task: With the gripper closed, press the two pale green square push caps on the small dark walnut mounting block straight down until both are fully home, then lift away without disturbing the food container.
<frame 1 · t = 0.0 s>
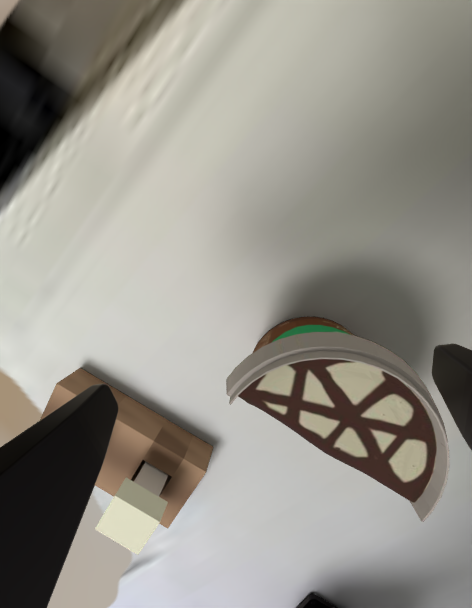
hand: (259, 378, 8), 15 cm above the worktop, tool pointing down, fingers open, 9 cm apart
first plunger: (141, 497, 23), point 5 cm above the worktop, slide at 0.0 cm
food container: (326, 343, 24), on the worktop
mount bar: (130, 435, 28), on the worktop
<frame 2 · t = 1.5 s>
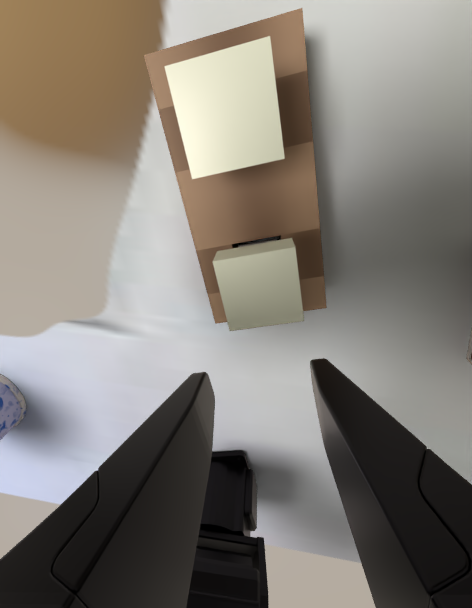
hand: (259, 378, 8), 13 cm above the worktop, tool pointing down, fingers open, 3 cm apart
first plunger: (260, 274, 16), point 5 cm above the worktop, slide at 0.0 cm
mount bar: (250, 194, 18), on the worktop
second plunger: (232, 121, 13), point 5 cm above the worktop, slide at 0.0 cm
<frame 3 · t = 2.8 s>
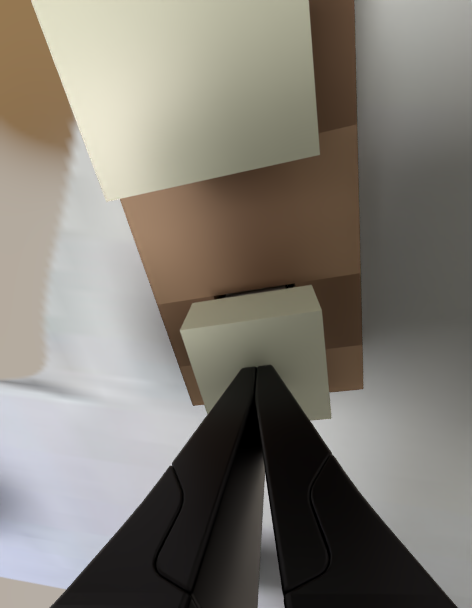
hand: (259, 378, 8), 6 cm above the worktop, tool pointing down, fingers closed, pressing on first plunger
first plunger: (260, 331, 10), point 3 cm above the worktop, slide at 1.3 cm, touching gripper
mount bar: (246, 212, 12), on the worktop
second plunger: (204, 79, 6), point 5 cm above the worktop, slide at 0.0 cm
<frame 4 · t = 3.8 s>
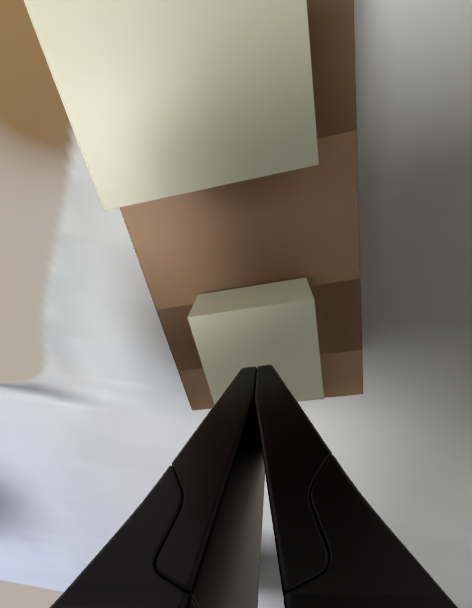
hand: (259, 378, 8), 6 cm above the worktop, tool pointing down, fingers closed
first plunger: (259, 321, 11), point 2 cm above the worktop, slide at 2.3 cm
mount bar: (245, 216, 12), on the worktop
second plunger: (203, 86, 6), point 5 cm above the worktop, slide at 0.0 cm
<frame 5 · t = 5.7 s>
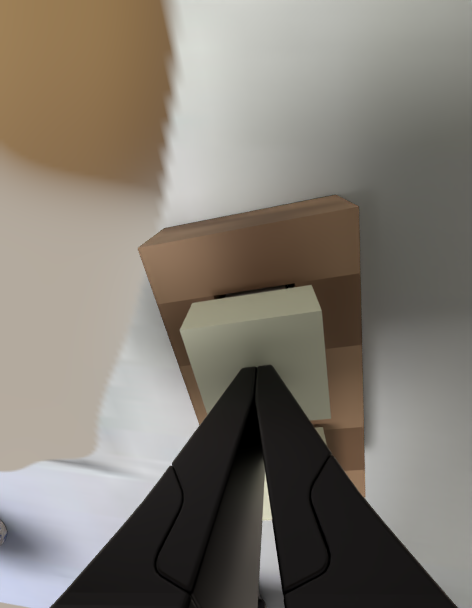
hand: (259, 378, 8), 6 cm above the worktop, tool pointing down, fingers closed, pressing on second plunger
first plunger: (284, 443, 14), point 2 cm above the worktop, slide at 2.3 cm
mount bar: (271, 354, 15), on the worktop
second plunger: (260, 331, 10), point 3 cm above the worktop, slide at 1.3 cm, touching gripper
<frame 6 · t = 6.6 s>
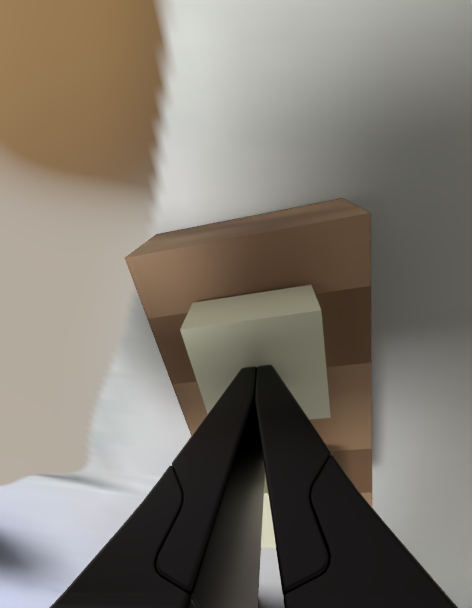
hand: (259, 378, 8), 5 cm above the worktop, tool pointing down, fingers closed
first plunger: (285, 464, 13), point 2 cm above the worktop, slide at 2.3 cm
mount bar: (272, 367, 14), on the worktop
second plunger: (260, 331, 10), point 2 cm above the worktop, slide at 2.3 cm
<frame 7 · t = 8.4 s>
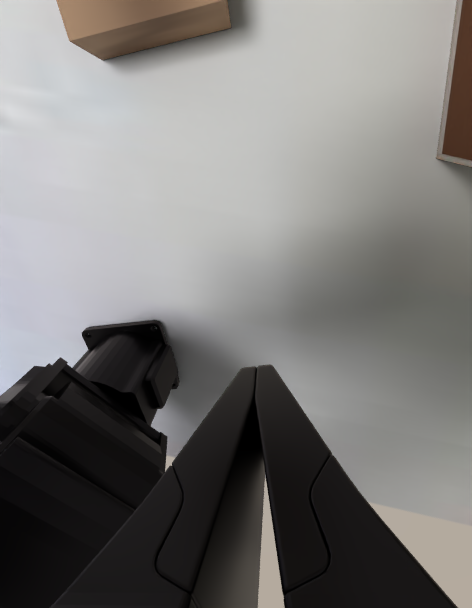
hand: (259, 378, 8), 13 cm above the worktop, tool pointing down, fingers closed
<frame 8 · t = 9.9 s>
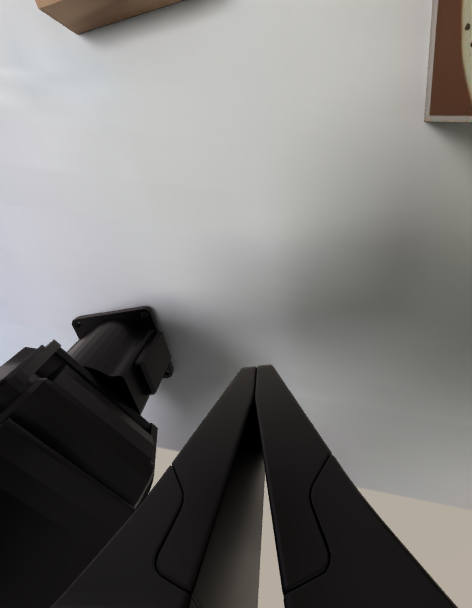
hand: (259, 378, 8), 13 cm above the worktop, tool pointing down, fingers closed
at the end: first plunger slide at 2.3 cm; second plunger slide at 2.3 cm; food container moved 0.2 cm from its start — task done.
